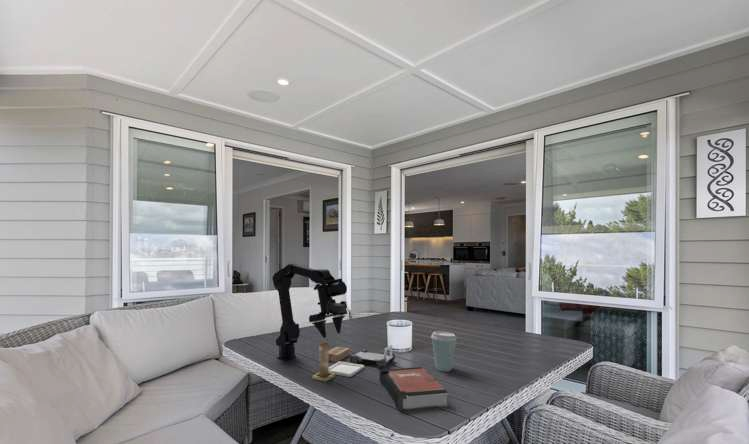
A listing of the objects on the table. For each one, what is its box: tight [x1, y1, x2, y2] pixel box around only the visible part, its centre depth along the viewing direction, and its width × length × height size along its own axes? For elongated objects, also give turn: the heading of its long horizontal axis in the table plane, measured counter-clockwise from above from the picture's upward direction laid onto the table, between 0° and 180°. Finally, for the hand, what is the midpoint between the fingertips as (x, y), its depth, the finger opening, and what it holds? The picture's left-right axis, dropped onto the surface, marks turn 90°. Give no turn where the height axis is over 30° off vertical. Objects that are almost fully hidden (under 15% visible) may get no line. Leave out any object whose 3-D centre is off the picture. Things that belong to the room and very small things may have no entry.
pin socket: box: [311, 372, 336, 383], centre depth 143 cm, size 6×6×1 cm
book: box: [379, 366, 450, 412], centre depth 129 cm, size 26×18×5 cm
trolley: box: [349, 344, 396, 370], centre depth 162 cm, size 17×12×8 cm
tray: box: [329, 360, 365, 378], centre depth 152 cm, size 12×12×1 cm
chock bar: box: [329, 346, 351, 363], centre depth 170 cm, size 7×12×4 cm, turn 156°
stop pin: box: [318, 342, 330, 378], centre depth 144 cm, size 4×4×13 cm
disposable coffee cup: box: [430, 331, 458, 372], centre depth 154 cm, size 11×11×15 cm
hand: (332, 335), depth 155 cm, fingers open, 9 cm apart
